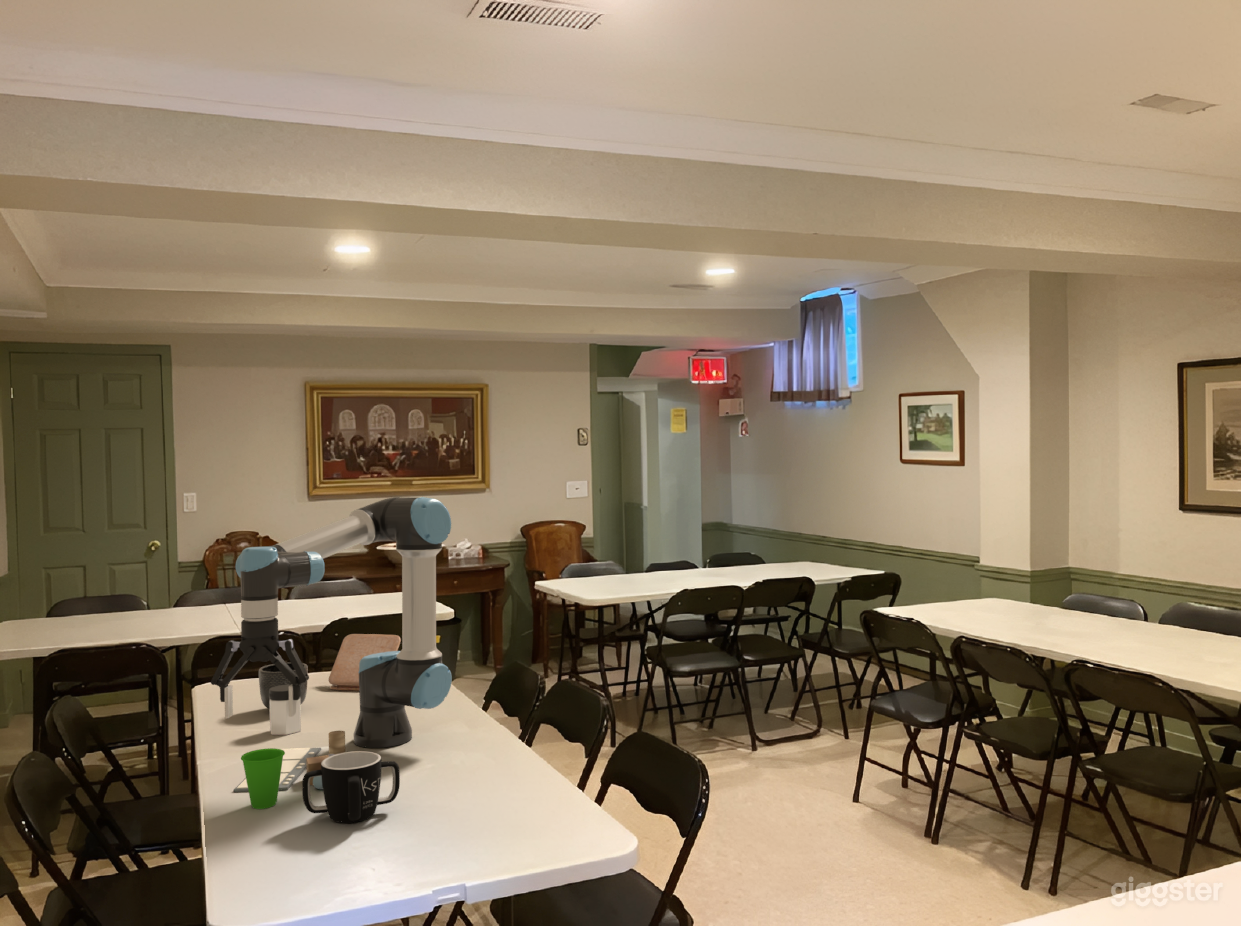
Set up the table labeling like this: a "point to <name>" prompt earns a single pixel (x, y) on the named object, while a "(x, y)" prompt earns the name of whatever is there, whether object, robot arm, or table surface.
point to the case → (358, 657)
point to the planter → (277, 682)
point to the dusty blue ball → (317, 782)
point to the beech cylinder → (336, 742)
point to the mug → (351, 786)
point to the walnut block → (314, 764)
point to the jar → (283, 712)
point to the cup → (263, 776)
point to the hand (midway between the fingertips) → (260, 715)
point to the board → (288, 767)
